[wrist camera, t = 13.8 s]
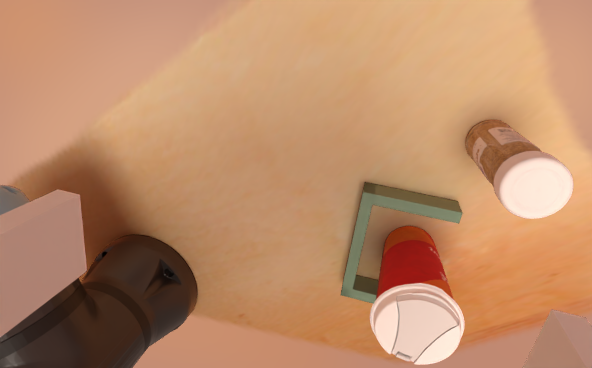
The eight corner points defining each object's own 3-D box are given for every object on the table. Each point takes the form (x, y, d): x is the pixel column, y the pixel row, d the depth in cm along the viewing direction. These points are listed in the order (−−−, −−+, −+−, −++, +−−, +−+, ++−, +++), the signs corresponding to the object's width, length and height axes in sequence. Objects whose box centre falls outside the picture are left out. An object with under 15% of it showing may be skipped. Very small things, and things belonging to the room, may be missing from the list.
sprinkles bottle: (454, 145, 39) (484, 194, 27) (488, 109, 37) (537, 144, 25) (490, 172, 39) (536, 233, 27) (525, 137, 37) (592, 186, 25)
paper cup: (427, 284, 45) (442, 382, 32) (366, 261, 46) (356, 348, 33) (456, 230, 42) (485, 314, 29) (389, 206, 43) (389, 278, 30)
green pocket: (343, 280, 47) (340, 294, 45) (365, 182, 42) (363, 191, 40) (424, 300, 46) (427, 317, 43) (457, 201, 41) (462, 212, 38)
